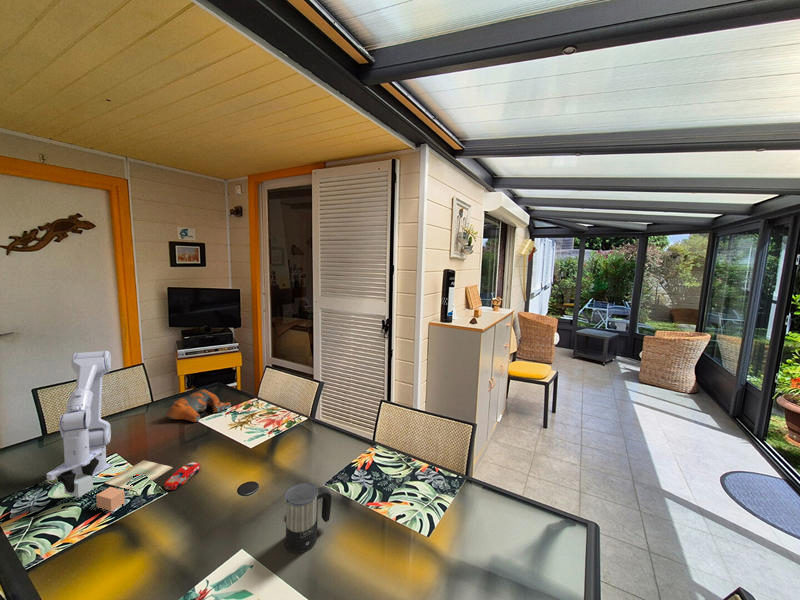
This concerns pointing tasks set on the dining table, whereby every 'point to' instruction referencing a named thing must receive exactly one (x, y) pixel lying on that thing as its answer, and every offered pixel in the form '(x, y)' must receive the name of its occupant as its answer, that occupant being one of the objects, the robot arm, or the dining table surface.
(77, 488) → the light grey block
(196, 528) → the dining table surface
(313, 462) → the dining table surface
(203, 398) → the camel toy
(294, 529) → the milk frother
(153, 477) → the plate
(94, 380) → the robot arm
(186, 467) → the race car
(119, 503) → the terracotta block
